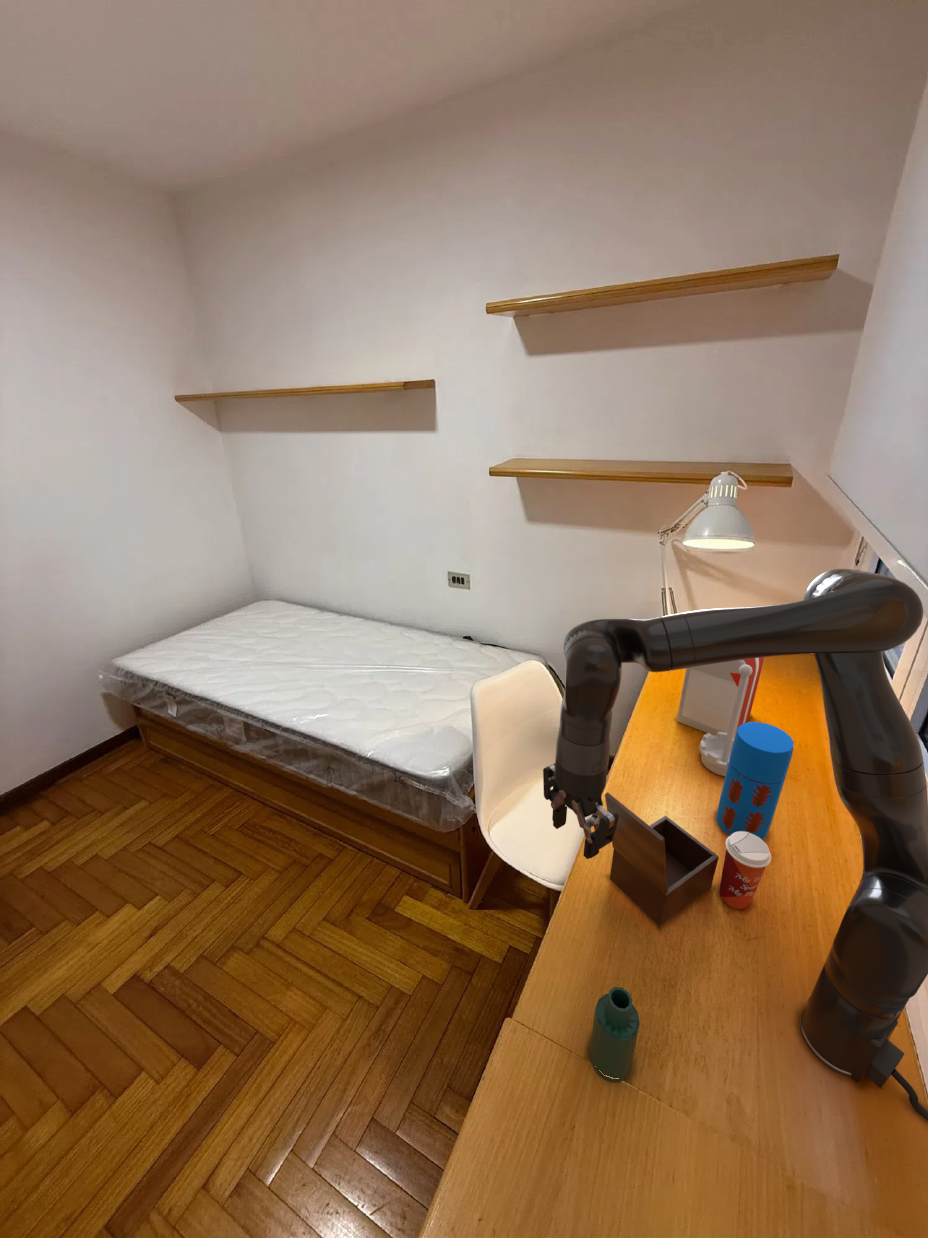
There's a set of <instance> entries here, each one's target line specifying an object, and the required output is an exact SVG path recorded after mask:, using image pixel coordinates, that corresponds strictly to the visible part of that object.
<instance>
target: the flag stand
mask: <svg viewBox="0 0 928 1238" xmlns="http://www.w3.org/2000/svg"><path fill="white" fill-rule="evenodd" d="M739 673H740V674H738V673H730V674H731V676H732V678H733V680H734V682H735V683H736V685H737V687H738V690H737V694H736V698H735V703H734V707H733V711H732V715H731V720H730V724H729V728H728V732H727V733H725V732H717V735H712V734H710V733H705V734H703V735H702V738H701V740H700V742H699V747H698V750H699V753H700V755H701V762H702V764H703V765H704V767H706V768H707V769H708V770H709V771H711V772H712V773H714V774H715V775H719V776H722V777H725V776H726V772H727V768H728V764H729V759H730V755H731V751H732V747H733V743H734V738H733V736H734V732H735V727H736V723H737V719H738V715H739V711H740V707H741V703H742V699H743V694H744V690H745V686H746V682H747V678H748V676H750V675H751V674H752V668H751V667H750V666H749V665H742V666H740V668H739Z"/></svg>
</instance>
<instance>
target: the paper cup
mask: <svg viewBox="0 0 928 1238" xmlns="http://www.w3.org/2000/svg"><path fill="white" fill-rule="evenodd" d="M771 861H772V854H771V852H770V848H769V846H768V844H767V843H766V842H765V841H764V840H762V839H760V838H759V837H757V836H756V835H754V834H751V833H749V832H744V831H738V832H735V833H733V834H732V835H731V836H729V835H728V837H727V838H726V839H725V854H724V859H723V865H722V869H721V870H722V871H721V877H720V882H719V891H718V892H719V895H720V898H721V900H722V901H723V902H724V903H725V904H726V905H728V906H729V907H731V908H733V909H737V910H745V909H747V908H748V907H750V905H751V904H752V901H753V899H754V896H755V895H756V893H757V890H758V887H759V884H760V882H761V880H762V878H763V876H764V873H765V870H766V868H767V866H768V865H769V864H770V863H771Z"/></svg>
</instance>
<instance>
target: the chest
mask: <svg viewBox="0 0 928 1238" xmlns="http://www.w3.org/2000/svg"><path fill="white" fill-rule="evenodd" d="M648 825H649V824H648ZM649 826H650V827H651V828H652V829H654V830H655V831H656V832H657V833H659V834H660V835H661V836H662V837H664V838H665V853H666V869H667V886H668V893H667V894H666V895H665V894H663V893H662V892H661V891H660V890H659V889H658V888H657V887H656V886H655V885H654V884H652V883H651V882H650V881H649V880H648V879H647V878H646V877H645V876H644V875H643V874H642V873H640V872H639V871H638V870H637V869H636V868H635V867H634V866H633V865H632V864H631V863H629V862H628V861H627V860H626V859H625V858H624V857H623V856H622V855H621V854H620V853H619V852H617V851H616V850H615V849H614V848H613V852H612V859H611V866H610V873H609V879H610V881H611V882H613V884H615V885H616V886H617V887H618V888H619V890H621V891H622V892H623V893H624V895H626V896H627V897H628V898H629V899H630V900H631V901H632V902H633V903H634V904H635V905H636V906H637V907H638V908H639V909H640V910H641V911H642V912H643V913H644V915H646V916H647V917H648V918H649V919H650V920H651V921H652V922H653V923H654V924H655V925H656V926H657V927H658V928H661V927H662V926H663V925H665V924H666V923H668V922H669V921H671V919H673V918H674V917H675V916H677V915H678V914H679V913H681V912H682V911H683V910H684V909H686V908H687V907H689V905H691V904H692V903H693V902H695V901H696V900H697V899H698V898H700V897H701V896H702V895H704V894H705V893H706V892H707V891H709V890H710V889H711V888H712V885H713V882H714V878H715V875H716V870H717V867H718V862H719V858H720V855H718V854H716V852H714V851H713V850H711V849H710V848H708V846H706V845H704V844H703V843H702V842H701V841H700V840H698V839H697V838H696V837H694V836H693V835H692V834H690V833H689V832H688V831H687V830H685V829H684V828H682V827H681V826H680V825H678V824H677V823H676V822H675V821H674V820H672V819H671V818H670V817H669V816H667V815H664V816H662V817H661V818H658V819H657V820H656V821H654V822H653V823H651V824H650V825H649Z"/></svg>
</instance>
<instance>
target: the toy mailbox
mask: <svg viewBox="0 0 928 1238" xmlns="http://www.w3.org/2000/svg"><path fill="white" fill-rule="evenodd" d="M765 658H766V657H761V658H752V659H743V660H735V661H728V662H721V663H715V664H709V665H703V666H697V667H691V668H685V672H684V676H683V677H684V678H683V684H682V689H681V695H680V700H679V705H678V710H677V716H676V722H678V723H681V724H683V725H686V726H688V727H691V728H694V729H696V730H699V731H701V732H704V733H705V734H707V733H710V734H711V735H717V732H725V733H727V732H728V728H729V724H730V720H731V715H732V711H733V707H734V703H735V698H736V694H737V690H738V687H737V685H736V683H735V682H734V680H733V678H732V676H731V674H730V673H738V674H740V673H739V668H740V666H742V665H749V666H750V667H751V668H752V674H751V675H750V676H748V678H747V682H746V686H745V690H744V694H743V699H742V703H741V707H740V711H739V715H738V719H737V723H736V727H735V732H734V736H733V738H734V739H735V735H736V732H737V729H738V727H739V726H740V725H742V724H743V723H747V721H748V720H749V719H750V717H751V714H752V709H753V705H754V702H755V697H756V693H757V690H758V686H759V682H760V678H761V674H762V671H763V670H762V669H763V666H764V663H765Z"/></svg>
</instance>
